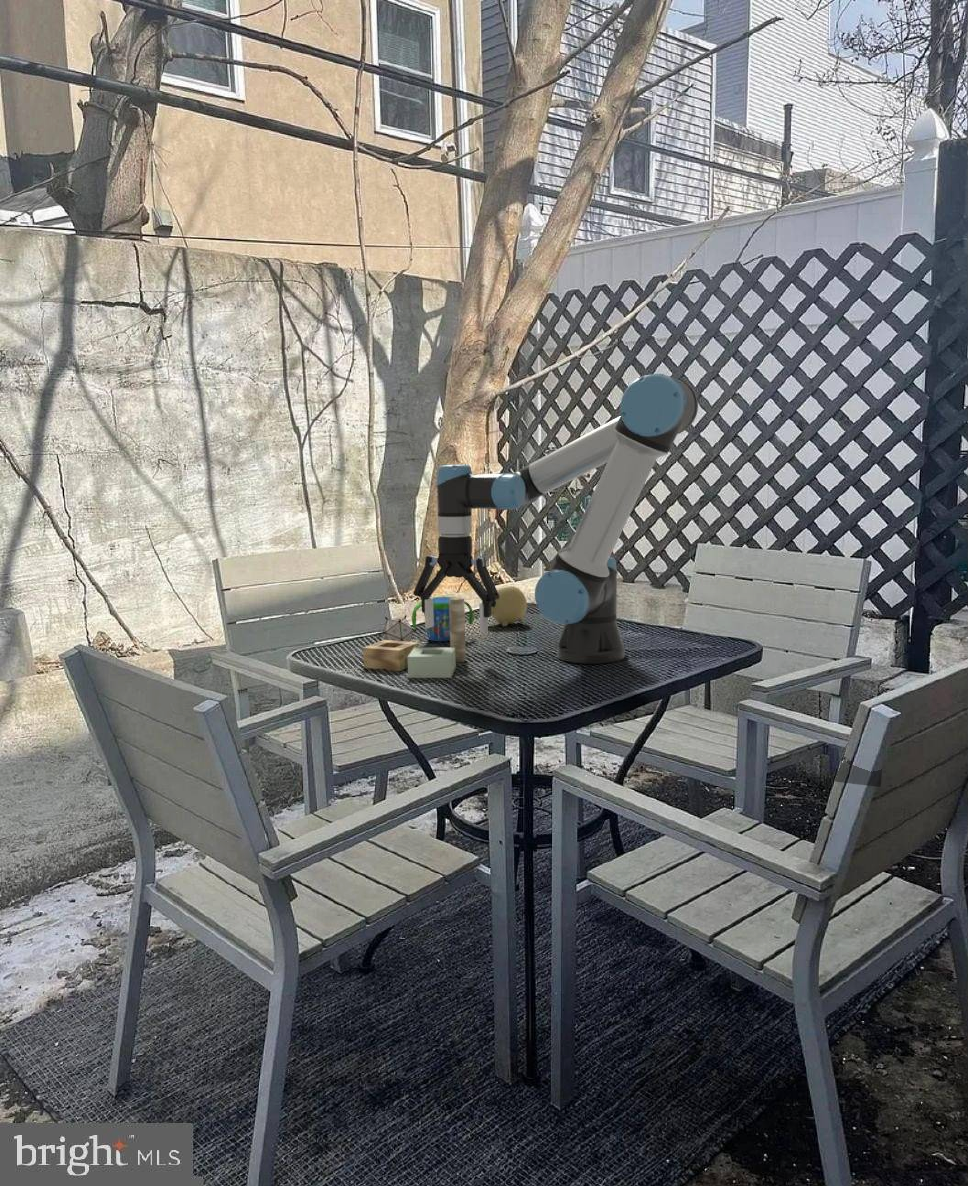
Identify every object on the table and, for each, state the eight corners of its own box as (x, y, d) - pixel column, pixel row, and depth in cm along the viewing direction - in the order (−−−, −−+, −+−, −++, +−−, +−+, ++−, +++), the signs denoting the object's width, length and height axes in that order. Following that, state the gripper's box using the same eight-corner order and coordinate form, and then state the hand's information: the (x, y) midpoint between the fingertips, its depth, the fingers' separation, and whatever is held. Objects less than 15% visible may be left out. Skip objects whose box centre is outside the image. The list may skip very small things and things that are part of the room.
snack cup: (469, 633, 239) (468, 594, 238) (478, 641, 229) (477, 601, 227) (409, 637, 236) (408, 598, 234) (416, 645, 225) (414, 604, 224)
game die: (403, 665, 221) (408, 637, 214) (371, 652, 222) (375, 624, 215) (418, 641, 227) (423, 613, 220) (387, 628, 228) (391, 600, 221)
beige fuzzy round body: (480, 622, 254) (479, 584, 252) (523, 620, 256) (522, 582, 254) (485, 629, 244) (484, 589, 243) (530, 627, 246) (529, 587, 244)
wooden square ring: (419, 662, 208) (418, 642, 207) (399, 670, 199) (398, 650, 199) (384, 659, 211) (384, 639, 211) (363, 667, 203) (363, 647, 202)
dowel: (468, 659, 209) (466, 598, 207) (461, 662, 206) (460, 600, 204) (454, 658, 211) (453, 597, 209) (448, 661, 208) (446, 599, 206)
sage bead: (455, 667, 201) (455, 647, 201) (450, 677, 192) (450, 656, 192) (414, 667, 202) (414, 647, 201) (408, 677, 193) (407, 656, 192)
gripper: (513, 535, 202) (513, 630, 206) (413, 532, 213) (415, 622, 216) (499, 538, 196) (500, 636, 199) (397, 534, 206) (399, 628, 209)
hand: (456, 629), depth 208 cm, fingers open, 13 cm apart
